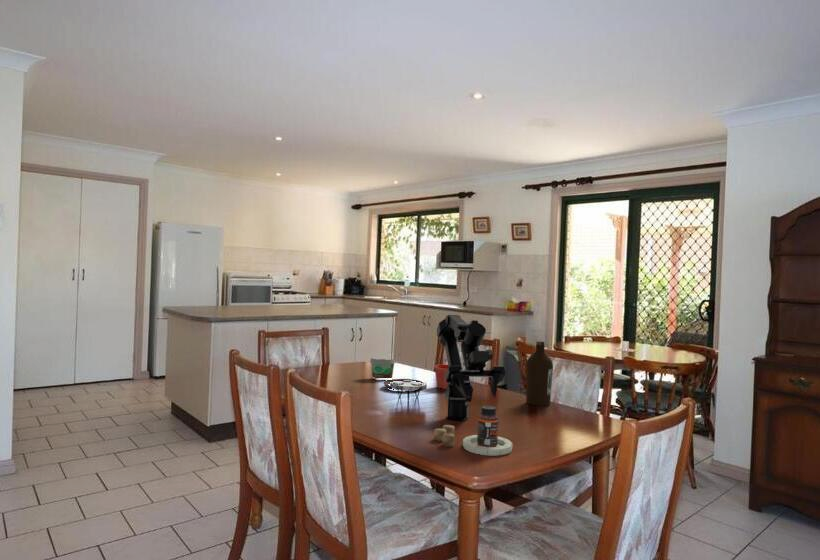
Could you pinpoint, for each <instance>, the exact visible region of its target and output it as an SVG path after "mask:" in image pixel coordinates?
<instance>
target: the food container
mask: <svg viewBox="0 0 820 560" xmlns="http://www.w3.org/2000/svg"><path fill="white" fill-rule="evenodd" d="M369 363H371V373H372V374H371V375H372V376H373V377H375V378H392V379H393V375H394V367H395V364H396V359H395V358H392V359H383V358H380V359H378V358H377V359H376V358H373V357H372V356H371V358H370V360H369Z"/></svg>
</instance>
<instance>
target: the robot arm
mask: <svg viewBox="0 0 820 560" xmlns="http://www.w3.org/2000/svg"><path fill="white" fill-rule="evenodd" d="M486 331H487V329H486V327H485V326H484V325H483V324H481V323H480V322H479V321H478V320H471V321H470V322H466V321H465V320H464V319H462V318H461V315H458V314H448V315H445V318H444V319H442V320H441V321H439V322H438V326H437V328H436V337H437V338H438V341H439V343H440V344H441V346H443V347H444V348H445V349H444V350H445V354H446V361H447V365H448V366H449V367H448V368H447V371H446V374H445V379H446V382H449V383H448V385H447V388H446V390H444V400H445V401H446V402H447V416H446V417H445V420H446V419H447V420H453V421H454V420H455V421H460V422H464V421H465V420H467V419H468V418H469V416H470V415H469V411H470V408H469V405H468V403H471V402H472V399H473V393H474V387H473V385H472V384H471V380H470V377H472V378H489V385H490V386H489V387H490V390H491V394H492V397H493V398H496V396H497V389H498V385H499V384H500V383H501V382H503V380H504V379H505V376H506V374H507V370H506V367H505V366H504V365H492V366H491V369H487V370H485V369H484V368H486V366H487V364H486V363H488V362H489V361H492V360H493V359H494V353H493V351H492V349H485V350H480V348H479V347H480V346H481V345H482V342H483V341H484V337H485V334H486ZM458 341H461V343H460V352H461V354H462V360H463V362H461V357H460V353H459V348H458ZM462 365H463V366H464V368H465V369H463V367H462Z"/></svg>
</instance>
